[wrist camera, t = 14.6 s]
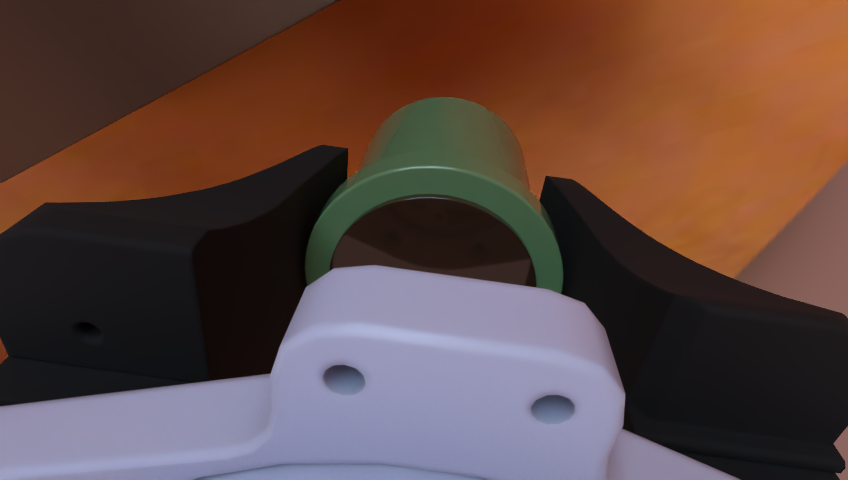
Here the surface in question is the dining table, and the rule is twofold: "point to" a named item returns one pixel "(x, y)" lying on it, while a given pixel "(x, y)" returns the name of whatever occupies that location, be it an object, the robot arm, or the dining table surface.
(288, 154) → the dining table surface
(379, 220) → the green pot
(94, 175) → the dining table surface
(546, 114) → the dining table surface
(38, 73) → the cabinet
